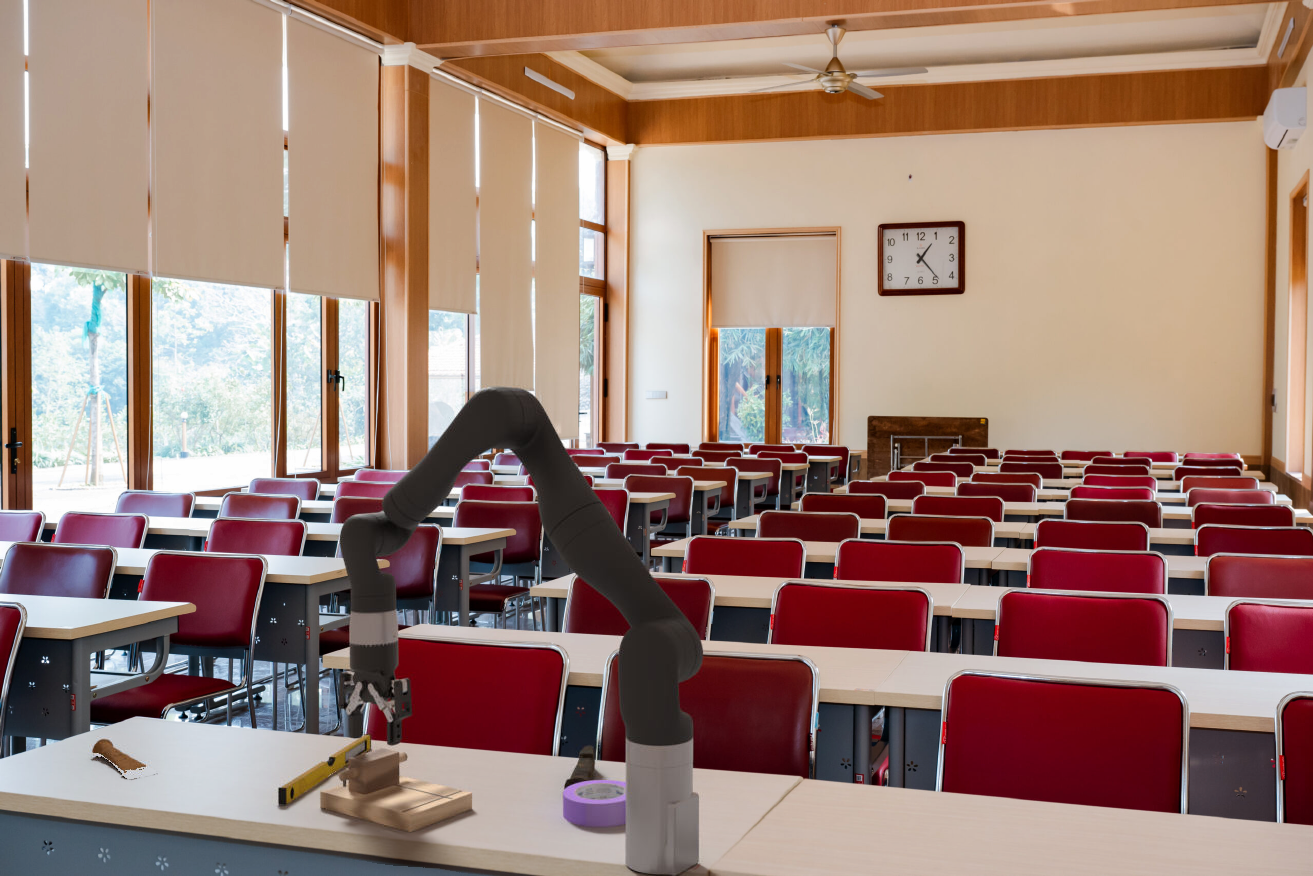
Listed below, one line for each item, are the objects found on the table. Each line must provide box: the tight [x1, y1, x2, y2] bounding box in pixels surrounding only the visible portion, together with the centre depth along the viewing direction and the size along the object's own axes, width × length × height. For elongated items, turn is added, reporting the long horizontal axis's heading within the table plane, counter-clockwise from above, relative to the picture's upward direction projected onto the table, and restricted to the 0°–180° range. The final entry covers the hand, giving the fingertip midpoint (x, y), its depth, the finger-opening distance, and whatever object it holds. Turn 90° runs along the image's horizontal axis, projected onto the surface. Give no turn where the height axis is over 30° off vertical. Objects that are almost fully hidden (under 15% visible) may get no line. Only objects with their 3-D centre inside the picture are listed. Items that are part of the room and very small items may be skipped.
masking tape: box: [562, 779, 626, 828], centre depth 181 cm, size 12×12×4 cm
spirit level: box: [277, 733, 372, 806], centre depth 202 cm, size 33×1×3 cm, turn 171°
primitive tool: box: [91, 738, 146, 773], centre depth 207 cm, size 19×6×4 cm, turn 48°
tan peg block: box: [338, 748, 408, 794], centre depth 187 cm, size 4×13×5 cm, turn 146°
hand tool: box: [563, 744, 596, 791], centre depth 197 cm, size 19×4×5 cm, turn 174°
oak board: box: [319, 775, 473, 833], centre depth 184 cm, size 20×13×3 cm, turn 56°
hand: (374, 741), depth 187 cm, fingers open, 8 cm apart
